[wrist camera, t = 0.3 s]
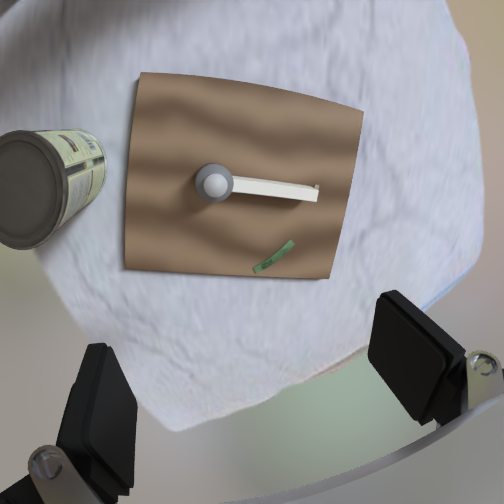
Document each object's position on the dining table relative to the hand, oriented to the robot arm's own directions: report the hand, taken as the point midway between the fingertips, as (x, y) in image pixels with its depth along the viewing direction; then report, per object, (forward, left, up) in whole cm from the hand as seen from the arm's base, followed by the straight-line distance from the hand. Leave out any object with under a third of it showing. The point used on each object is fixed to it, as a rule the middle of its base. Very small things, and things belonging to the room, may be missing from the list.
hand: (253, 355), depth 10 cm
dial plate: (-2, +5, -29) cm, 30 cm away
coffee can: (-2, -17, -29) cm, 34 cm away
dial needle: (-2, +6, -27) cm, 28 cm away
